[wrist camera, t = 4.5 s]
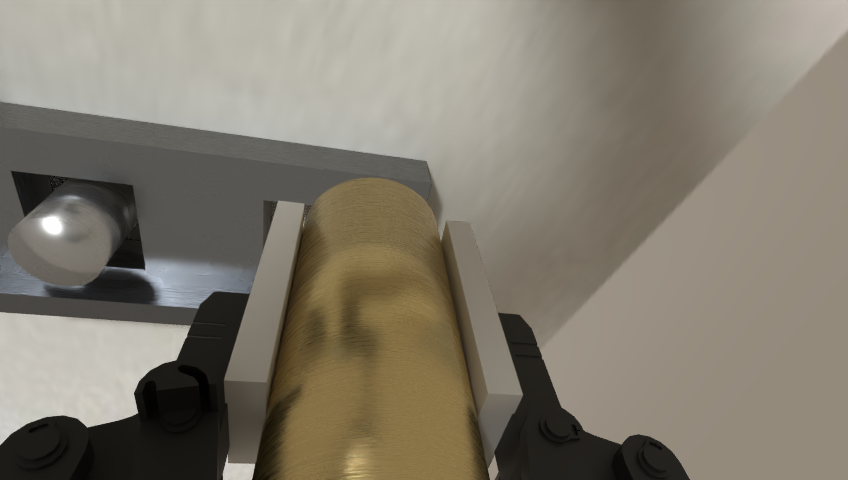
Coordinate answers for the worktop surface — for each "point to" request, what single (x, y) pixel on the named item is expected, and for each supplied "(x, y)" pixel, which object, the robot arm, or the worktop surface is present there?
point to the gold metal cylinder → (370, 349)
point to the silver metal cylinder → (74, 231)
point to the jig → (165, 206)
